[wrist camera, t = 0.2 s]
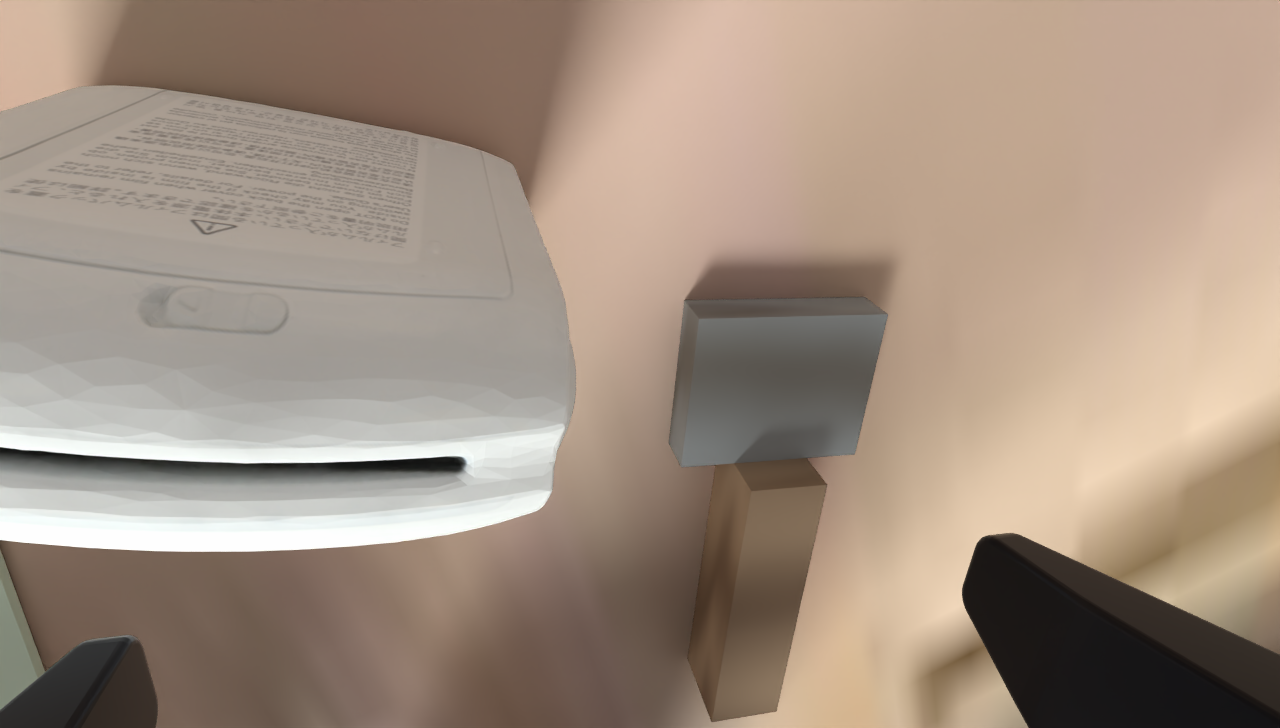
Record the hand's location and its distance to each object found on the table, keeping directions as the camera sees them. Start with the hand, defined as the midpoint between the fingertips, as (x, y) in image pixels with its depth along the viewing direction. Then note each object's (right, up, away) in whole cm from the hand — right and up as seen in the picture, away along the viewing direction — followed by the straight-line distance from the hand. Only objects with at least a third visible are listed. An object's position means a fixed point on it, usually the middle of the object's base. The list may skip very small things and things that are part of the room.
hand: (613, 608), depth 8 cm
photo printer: (-8, +7, +11) cm, 15 cm away
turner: (+4, -2, +18) cm, 19 cm away
